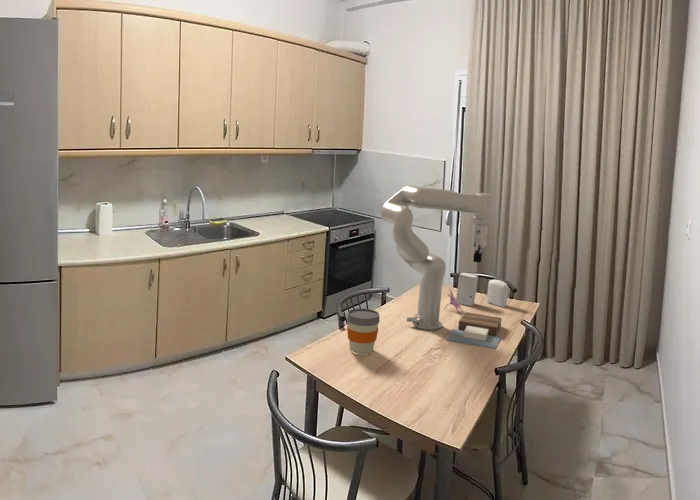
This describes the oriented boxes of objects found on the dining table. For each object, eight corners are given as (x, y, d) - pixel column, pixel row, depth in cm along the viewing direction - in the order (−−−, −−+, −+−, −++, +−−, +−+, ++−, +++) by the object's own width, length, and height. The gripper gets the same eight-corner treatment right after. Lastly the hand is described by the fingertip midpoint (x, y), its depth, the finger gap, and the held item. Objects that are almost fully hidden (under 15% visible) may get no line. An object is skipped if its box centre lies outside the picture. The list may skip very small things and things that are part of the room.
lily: (448, 317, 279) (460, 301, 277) (431, 302, 286) (443, 286, 284) (460, 319, 289) (472, 304, 286) (443, 304, 295) (454, 289, 293)
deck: (464, 320, 273) (465, 312, 272) (500, 326, 268) (501, 318, 267) (458, 330, 260) (459, 321, 260) (495, 336, 255) (496, 327, 254)
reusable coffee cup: (358, 359, 224) (360, 321, 221) (338, 347, 234) (340, 311, 231) (384, 352, 232) (386, 315, 228) (364, 342, 242) (366, 306, 238)
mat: (453, 329, 261) (453, 328, 261) (500, 337, 254) (500, 337, 254) (446, 340, 248) (446, 339, 248) (495, 349, 241) (495, 348, 241)
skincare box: (455, 303, 298) (458, 274, 295) (459, 300, 303) (461, 271, 300) (471, 306, 294) (474, 277, 291) (475, 303, 299) (478, 274, 296)
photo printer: (485, 302, 302) (487, 278, 299) (490, 300, 305) (493, 277, 302) (502, 307, 294) (504, 283, 292) (507, 306, 297) (510, 282, 294)
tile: (466, 330, 259) (467, 325, 258) (488, 334, 256) (488, 329, 255) (463, 336, 252) (463, 331, 251) (485, 340, 248) (485, 335, 248)
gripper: (486, 224, 257) (482, 266, 261) (492, 219, 271) (488, 259, 275) (469, 222, 260) (465, 264, 264) (475, 218, 274) (471, 257, 278)
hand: (477, 261), depth 269 cm, fingers closed
